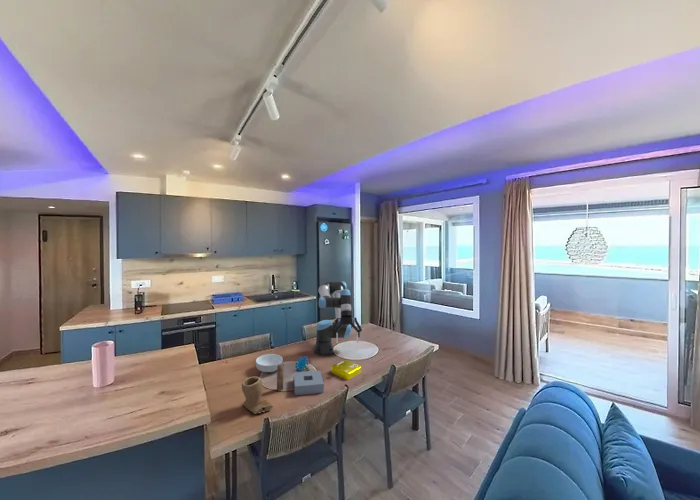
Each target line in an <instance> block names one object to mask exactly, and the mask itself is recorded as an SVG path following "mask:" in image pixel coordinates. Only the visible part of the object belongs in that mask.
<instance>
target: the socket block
mask: <svg viewBox="0 0 700 500" xmlns="http://www.w3.org/2000/svg"><path fill="white" fill-rule="evenodd" d="M323 379H324V378H323V375H322V372H321V370H318V369H317V370H306V371H294V372H293V390H294V396H300V395H313V394H321V393H323V394H324V388H325V383H324V380H323Z"/></svg>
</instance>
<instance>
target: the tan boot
mask: <svg viewBox="0 0 700 500" xmlns="http://www.w3.org/2000/svg"><path fill="white" fill-rule="evenodd" d="M241 391H242V393H243V395H244V397H245V400H244V401H243V406H244V407H245V408H246V409H247V410H249V411H250V412H251V413H253V414H255V415H257V414H256V413H259V412H263V411H266V412H268V411H270V410H271V409H273V408H274V405H273V404H272V403H271V402H270V401H268V400H267V399H265V398H264V397H262V396H263V395H262V394H263V381H262V379H261V377H260V376H250V377H247V378H246V379H244V380H243V381H242V383H241Z"/></svg>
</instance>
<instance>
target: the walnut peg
mask: <svg viewBox="0 0 700 500" xmlns="http://www.w3.org/2000/svg"><path fill="white" fill-rule="evenodd" d="M284 366H285V365H284V364H283V363H282V364H280V365H278V366H277V370H276V371H277V372H276V391H277V390H278V391H277V392H282V391H281V390H282V389H283V390H284V375H285V374H284V372H285V371H284V369H285V367H284Z"/></svg>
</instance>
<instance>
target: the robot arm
mask: <svg viewBox="0 0 700 500" xmlns="http://www.w3.org/2000/svg"><path fill="white" fill-rule="evenodd" d="M318 293H319V295H320V296H319V298H318V308H320V309H321V308H323V309H328V308H329V309H333V308H334V313H335V319H334V320H331V319H323V320H320V321H318V322H317V323H316V339H315V344H314V347H313V353H314V354H315V355H318V356H330V355H332V354H333V353H334V346H333V345H334V344H333V342H332V339H336V344H339V340H338V339H348V338H350V337H351V333H352V328H353V329H354V330H355V332H356V343H357V344H358V343H359V338H360V334H361V332H362V331H363V328H362V327H361V325H360V324H359V322H358V320H357V317H356V316H355V317H353V312H352V297H351V291H350V290H349V289H348V285H347V283H346V281H330V280H329V281H325V282H323V283H321V284H320V285H319V287H318ZM353 322H354V323H353Z"/></svg>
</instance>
